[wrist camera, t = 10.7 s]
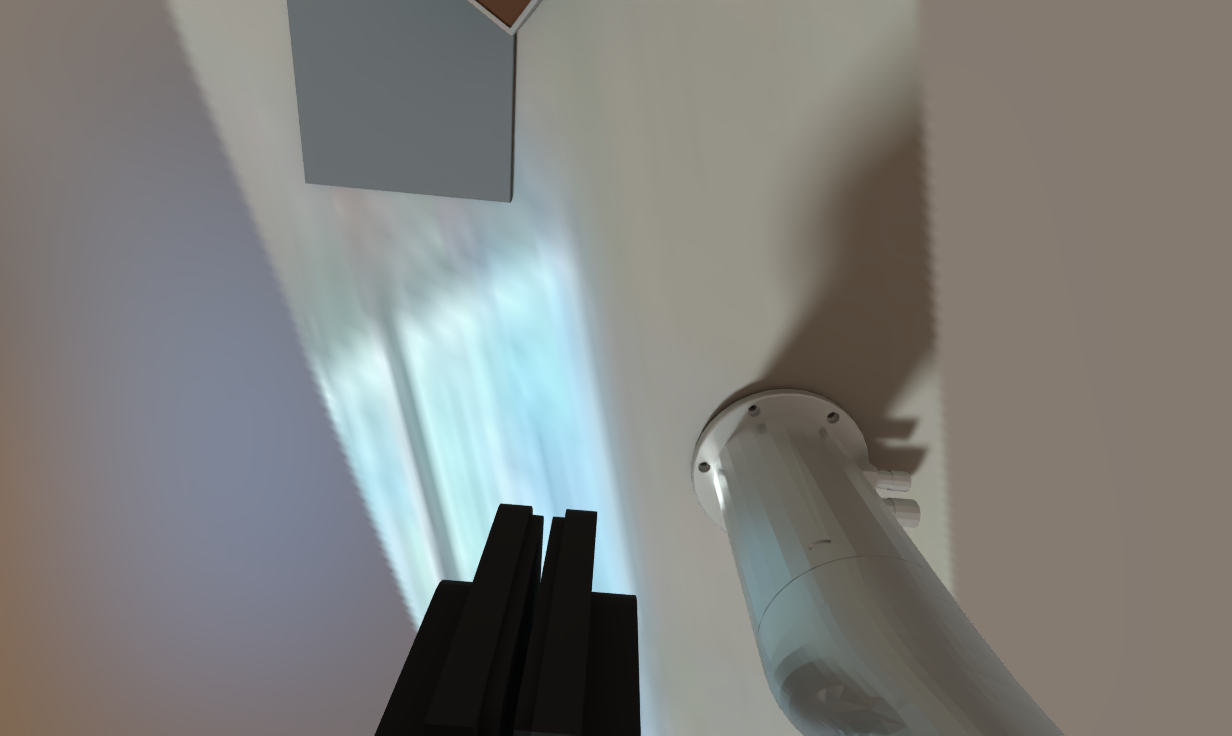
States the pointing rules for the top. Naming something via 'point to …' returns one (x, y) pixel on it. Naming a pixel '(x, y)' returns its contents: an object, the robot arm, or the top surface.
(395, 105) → the rubber mat
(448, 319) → the top surface
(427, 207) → the top surface
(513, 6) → the food container
